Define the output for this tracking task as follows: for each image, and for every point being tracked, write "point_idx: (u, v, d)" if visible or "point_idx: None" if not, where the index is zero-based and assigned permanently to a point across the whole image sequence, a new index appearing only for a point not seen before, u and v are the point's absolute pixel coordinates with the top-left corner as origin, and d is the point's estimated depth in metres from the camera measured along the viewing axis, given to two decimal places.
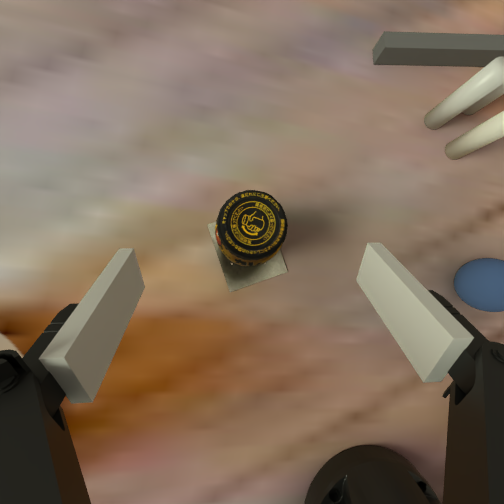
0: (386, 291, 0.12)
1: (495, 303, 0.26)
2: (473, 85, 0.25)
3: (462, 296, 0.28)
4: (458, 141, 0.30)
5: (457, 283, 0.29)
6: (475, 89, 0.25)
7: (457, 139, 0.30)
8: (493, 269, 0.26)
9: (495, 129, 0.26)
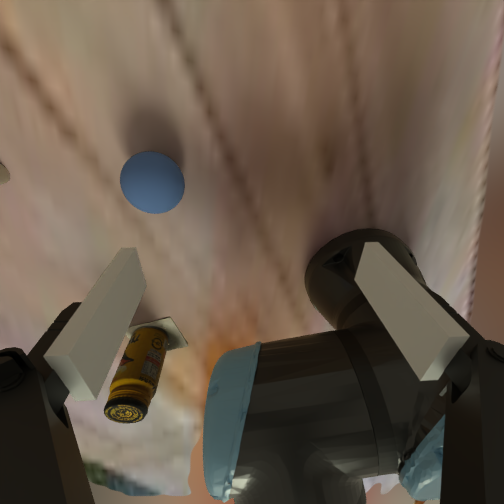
0: (384, 290, 0.12)
1: (169, 204, 0.24)
2: None
3: None
4: None
5: None
6: None
7: None
8: (131, 203, 0.24)
9: None
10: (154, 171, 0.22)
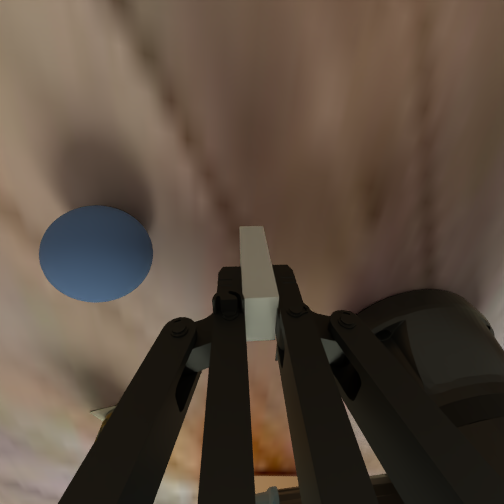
0: None
1: (125, 290, 0.15)
2: None
3: None
4: None
5: None
6: None
7: None
8: None
9: None
10: (91, 247, 0.13)
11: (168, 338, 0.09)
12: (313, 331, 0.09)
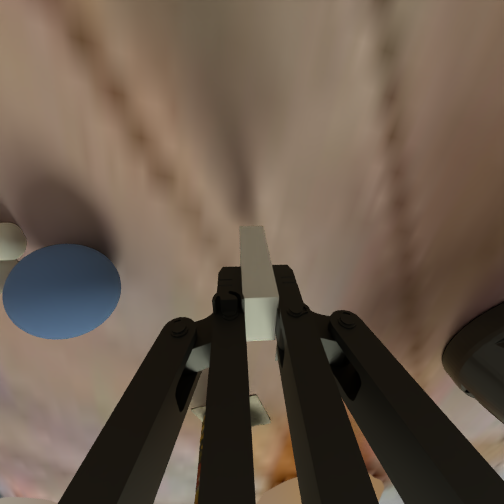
0: None
1: None
2: None
3: None
4: None
5: None
6: None
7: None
8: (102, 320, 0.16)
9: None
10: (85, 258, 0.15)
11: (168, 338, 0.09)
12: (313, 331, 0.09)
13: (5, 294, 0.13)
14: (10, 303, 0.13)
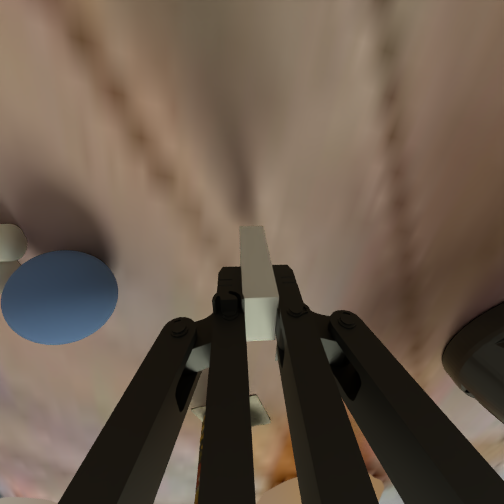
0: None
1: None
2: None
3: None
4: None
5: None
6: None
7: None
8: (98, 328, 0.16)
9: None
10: (77, 271, 0.15)
11: (168, 338, 0.09)
12: (313, 331, 0.09)
13: (2, 306, 0.14)
14: (6, 316, 0.14)
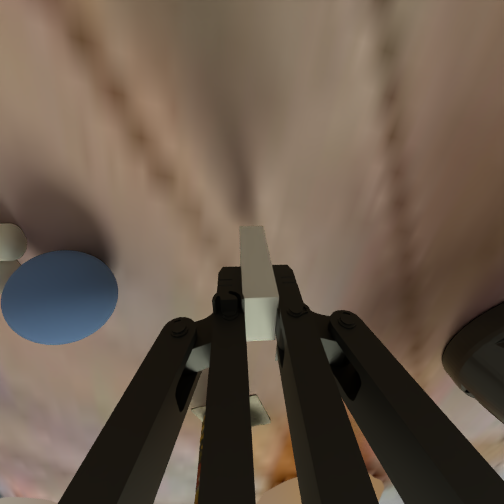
0: None
1: None
2: None
3: None
4: None
5: None
6: None
7: None
8: (98, 328, 0.16)
9: None
10: (77, 271, 0.15)
11: (168, 338, 0.09)
12: (313, 331, 0.09)
13: (2, 306, 0.14)
14: (6, 316, 0.14)
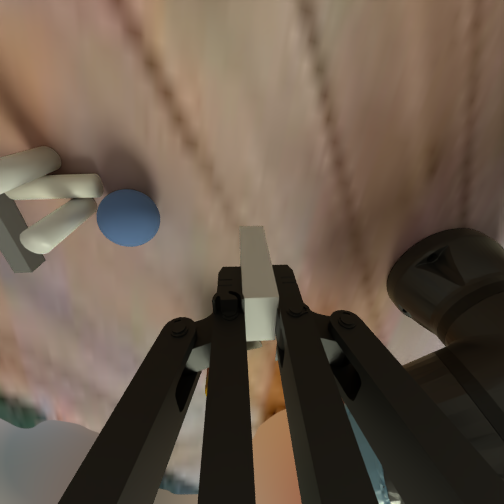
0: None
1: None
2: None
3: None
4: None
5: None
6: None
7: None
8: (149, 238, 0.26)
9: (38, 198, 0.26)
10: (140, 198, 0.25)
11: (168, 338, 0.09)
12: (313, 331, 0.09)
13: (99, 216, 0.24)
14: (102, 221, 0.24)
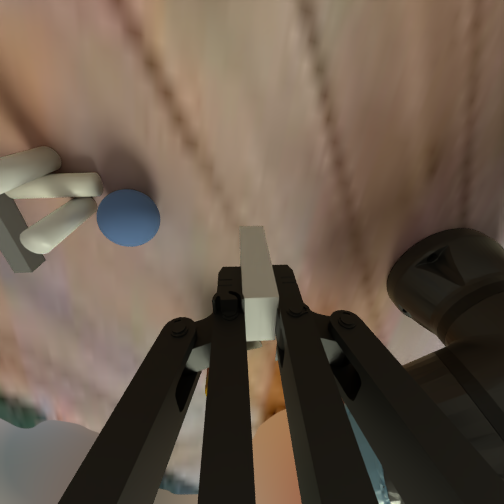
0: None
1: None
2: None
3: None
4: None
5: None
6: (62, 240, 0.23)
7: None
8: (149, 238, 0.26)
9: (36, 197, 0.26)
10: (140, 198, 0.25)
11: (168, 338, 0.09)
12: (313, 331, 0.09)
13: (99, 216, 0.24)
14: (103, 221, 0.24)
